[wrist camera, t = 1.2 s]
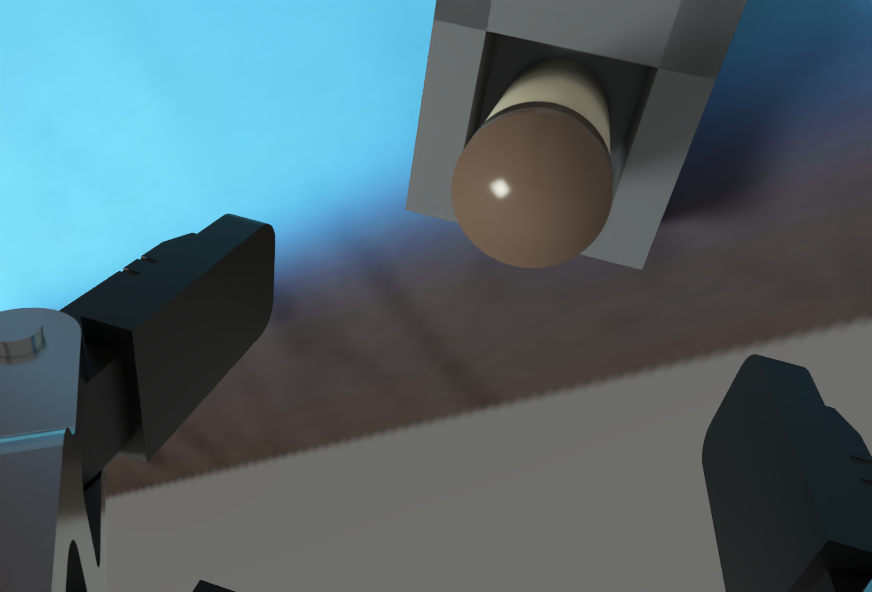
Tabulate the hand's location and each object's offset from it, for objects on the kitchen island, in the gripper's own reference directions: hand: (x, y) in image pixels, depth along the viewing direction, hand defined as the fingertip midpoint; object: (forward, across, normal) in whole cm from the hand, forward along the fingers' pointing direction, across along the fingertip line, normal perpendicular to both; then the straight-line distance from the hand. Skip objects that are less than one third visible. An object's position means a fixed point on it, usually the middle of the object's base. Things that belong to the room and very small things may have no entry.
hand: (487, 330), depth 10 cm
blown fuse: (+15, 0, 0) cm, 15 cm away
